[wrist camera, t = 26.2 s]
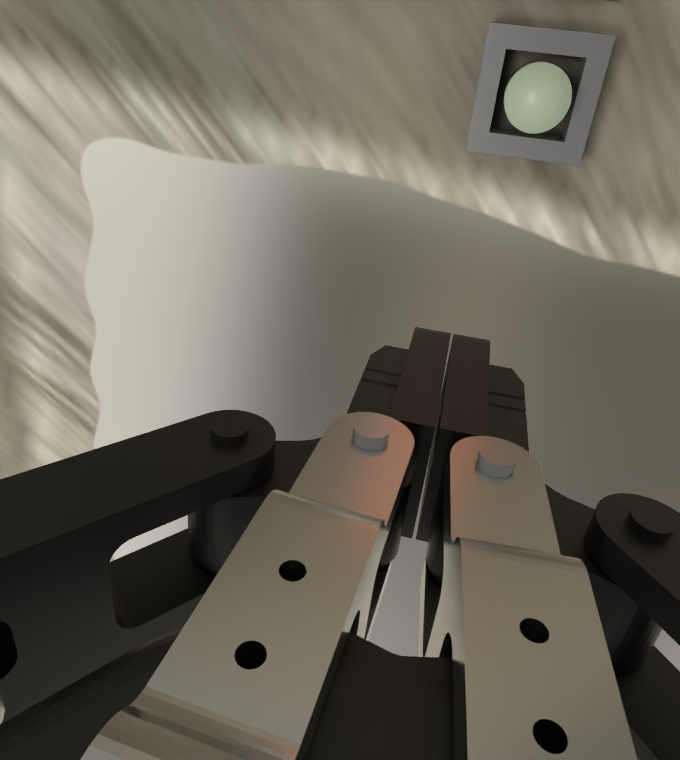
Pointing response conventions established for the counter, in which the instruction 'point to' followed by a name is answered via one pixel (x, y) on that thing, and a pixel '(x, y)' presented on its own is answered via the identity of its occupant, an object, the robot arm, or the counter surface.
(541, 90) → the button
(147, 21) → the counter surface
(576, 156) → the grey square holder
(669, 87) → the counter surface
